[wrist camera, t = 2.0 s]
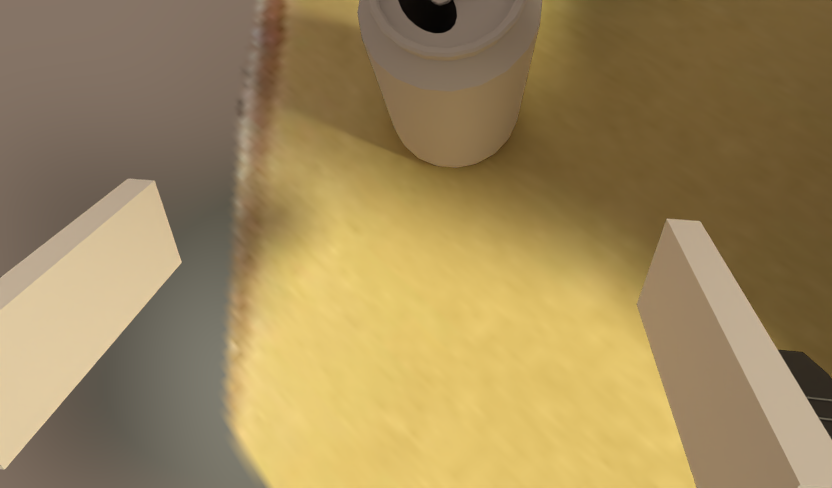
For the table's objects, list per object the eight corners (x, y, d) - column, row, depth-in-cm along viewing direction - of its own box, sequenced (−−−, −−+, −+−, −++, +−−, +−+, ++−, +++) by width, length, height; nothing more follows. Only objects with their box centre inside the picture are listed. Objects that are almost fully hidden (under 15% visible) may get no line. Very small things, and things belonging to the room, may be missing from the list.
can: (369, 106, 31) (309, -31, 19) (464, 33, 31) (463, -147, 20) (443, 197, 30) (428, 109, 18) (543, 120, 30) (593, -17, 18)
